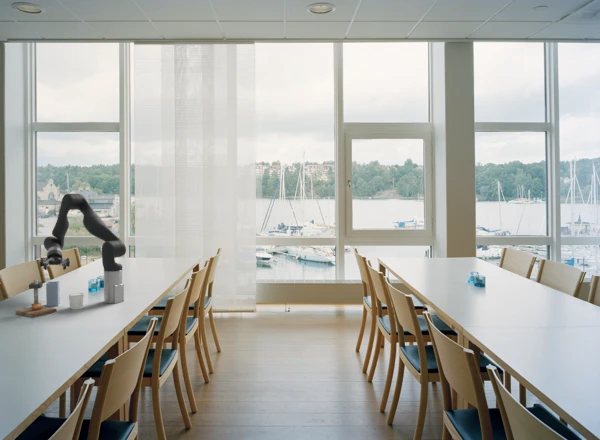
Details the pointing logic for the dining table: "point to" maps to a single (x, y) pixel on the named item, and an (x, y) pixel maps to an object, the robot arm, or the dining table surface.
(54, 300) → the sleeve
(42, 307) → the post stand
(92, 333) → the dining table surface
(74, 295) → the white cup
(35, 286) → the ring
